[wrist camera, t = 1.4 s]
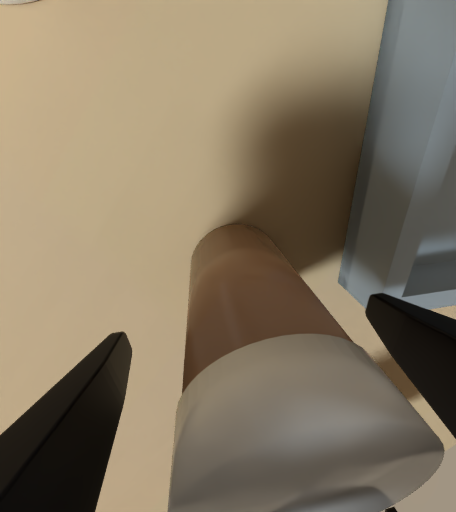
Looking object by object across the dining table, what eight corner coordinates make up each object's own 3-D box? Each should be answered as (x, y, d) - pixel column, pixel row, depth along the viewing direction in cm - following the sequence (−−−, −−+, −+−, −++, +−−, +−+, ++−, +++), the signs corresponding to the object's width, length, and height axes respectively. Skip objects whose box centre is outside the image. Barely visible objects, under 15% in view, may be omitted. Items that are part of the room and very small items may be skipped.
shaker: (278, 296, 13) (398, 517, 5) (196, 307, 12) (192, 564, 5) (280, 216, 10) (498, 395, 3) (181, 228, 10) (127, 466, 2)
